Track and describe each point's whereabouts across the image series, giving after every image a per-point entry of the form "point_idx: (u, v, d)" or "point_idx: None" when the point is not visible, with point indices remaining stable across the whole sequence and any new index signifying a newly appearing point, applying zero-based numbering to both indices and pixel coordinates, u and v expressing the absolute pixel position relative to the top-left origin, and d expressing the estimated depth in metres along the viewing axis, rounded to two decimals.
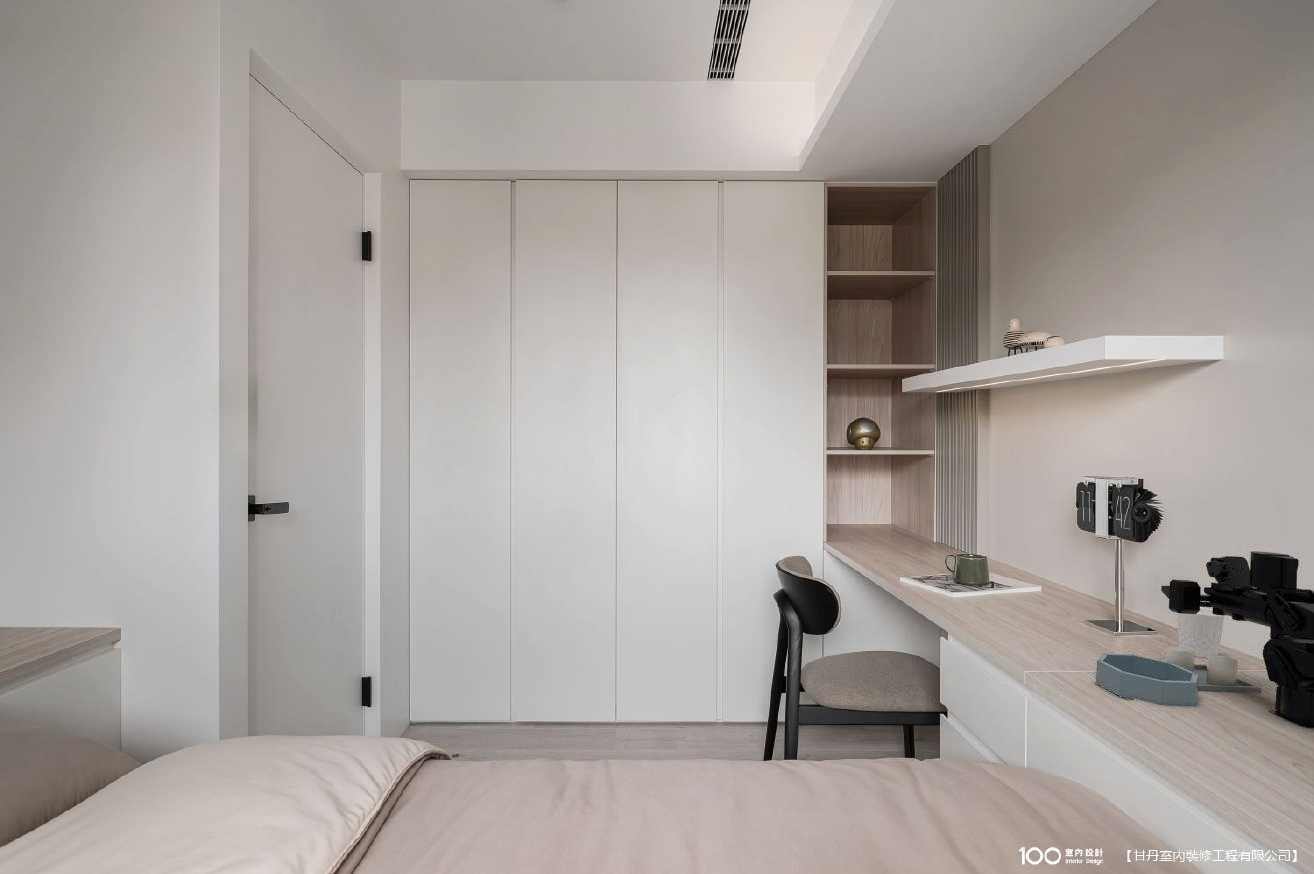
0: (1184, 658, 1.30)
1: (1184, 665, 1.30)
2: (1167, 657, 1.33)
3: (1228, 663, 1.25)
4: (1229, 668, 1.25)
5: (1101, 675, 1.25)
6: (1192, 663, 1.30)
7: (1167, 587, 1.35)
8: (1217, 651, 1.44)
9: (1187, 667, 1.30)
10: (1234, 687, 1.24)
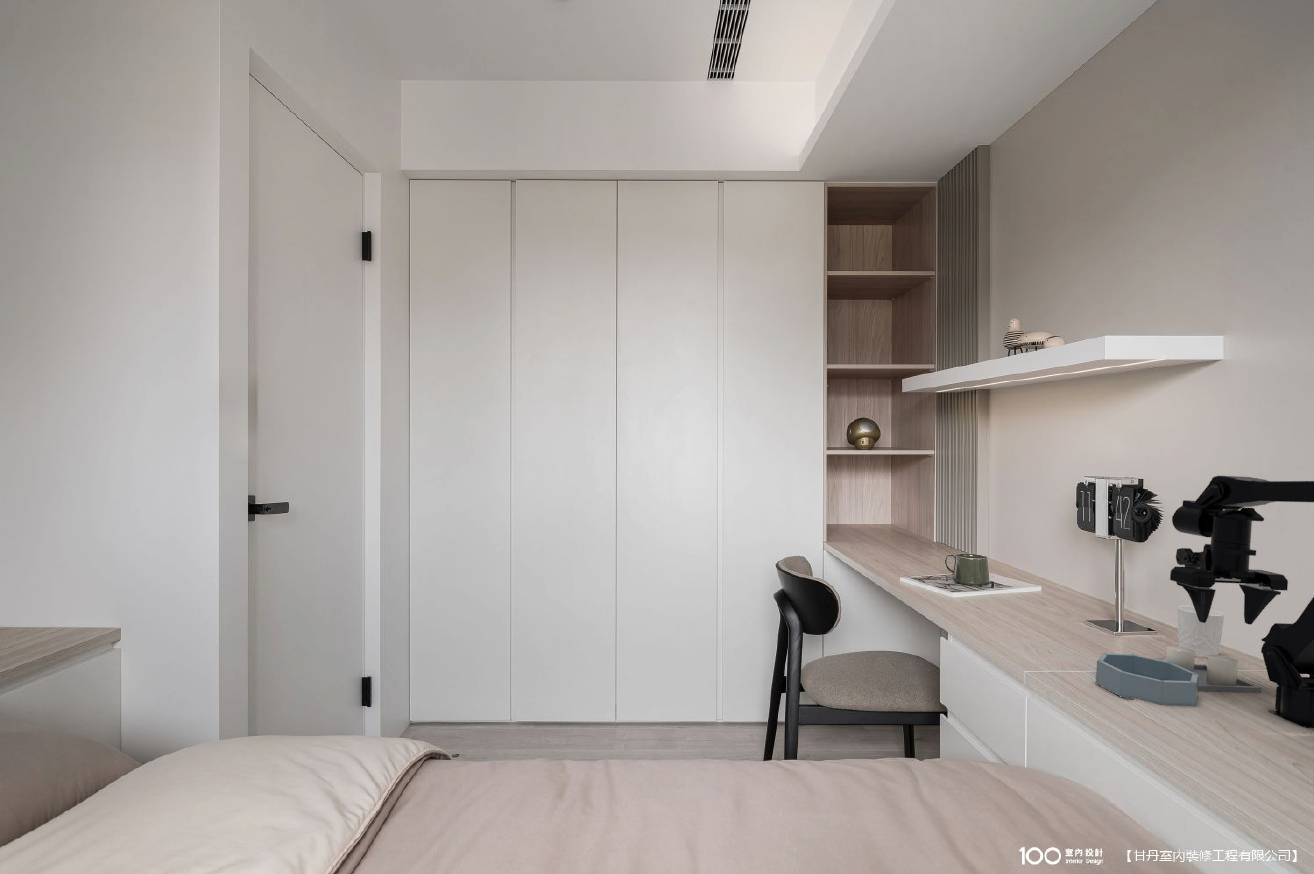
0: (1184, 658, 1.30)
1: (1184, 665, 1.30)
2: (1167, 657, 1.33)
3: (1228, 663, 1.25)
4: (1229, 668, 1.25)
5: (1101, 675, 1.25)
6: (1192, 663, 1.30)
7: (1195, 608, 1.28)
8: (1217, 651, 1.44)
9: (1187, 667, 1.30)
10: (1234, 687, 1.24)
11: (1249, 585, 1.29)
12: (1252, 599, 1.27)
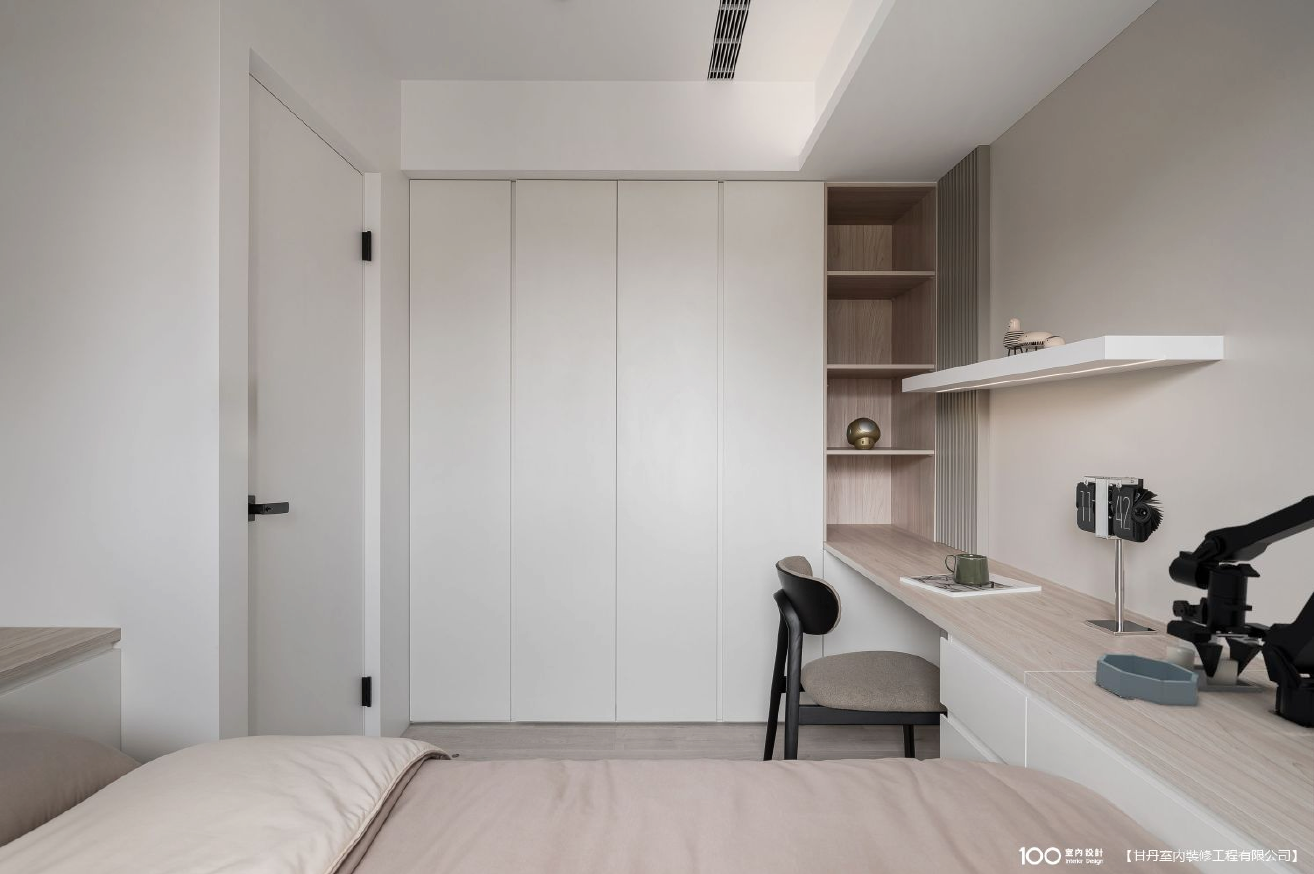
0: (1184, 658, 1.30)
1: (1184, 665, 1.30)
2: (1167, 657, 1.33)
3: (1228, 663, 1.25)
4: (1229, 668, 1.25)
5: (1101, 675, 1.25)
6: (1192, 663, 1.30)
7: (1203, 662, 1.28)
8: None
9: (1187, 667, 1.30)
10: (1234, 687, 1.24)
11: (1234, 638, 1.29)
12: (1237, 653, 1.27)
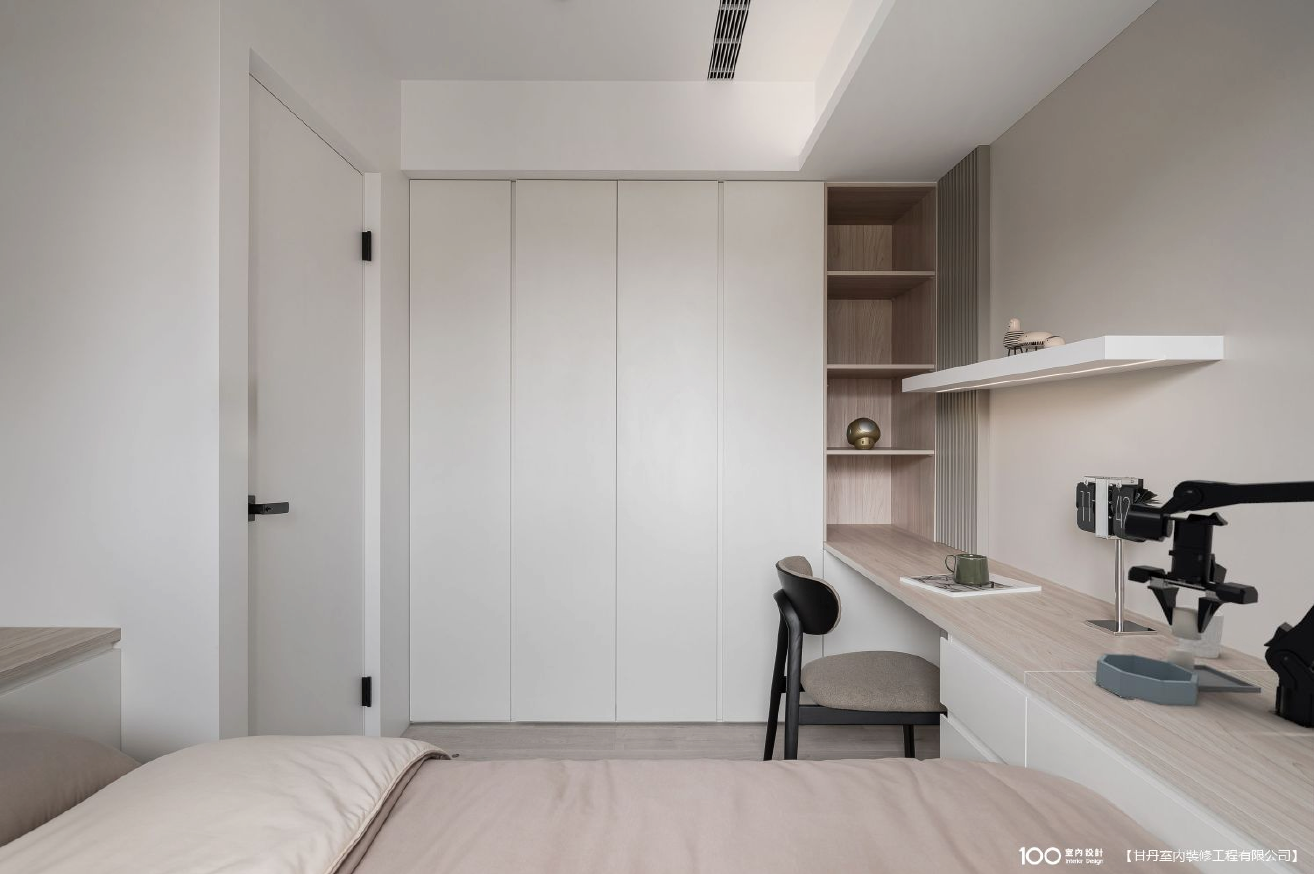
0: (1184, 658, 1.30)
1: (1184, 665, 1.30)
2: (1167, 657, 1.33)
3: (1177, 611, 1.25)
4: (1177, 616, 1.25)
5: (1101, 675, 1.25)
6: (1192, 663, 1.30)
7: None
8: (1217, 651, 1.44)
9: (1187, 667, 1.30)
10: (1234, 687, 1.24)
11: None
12: None
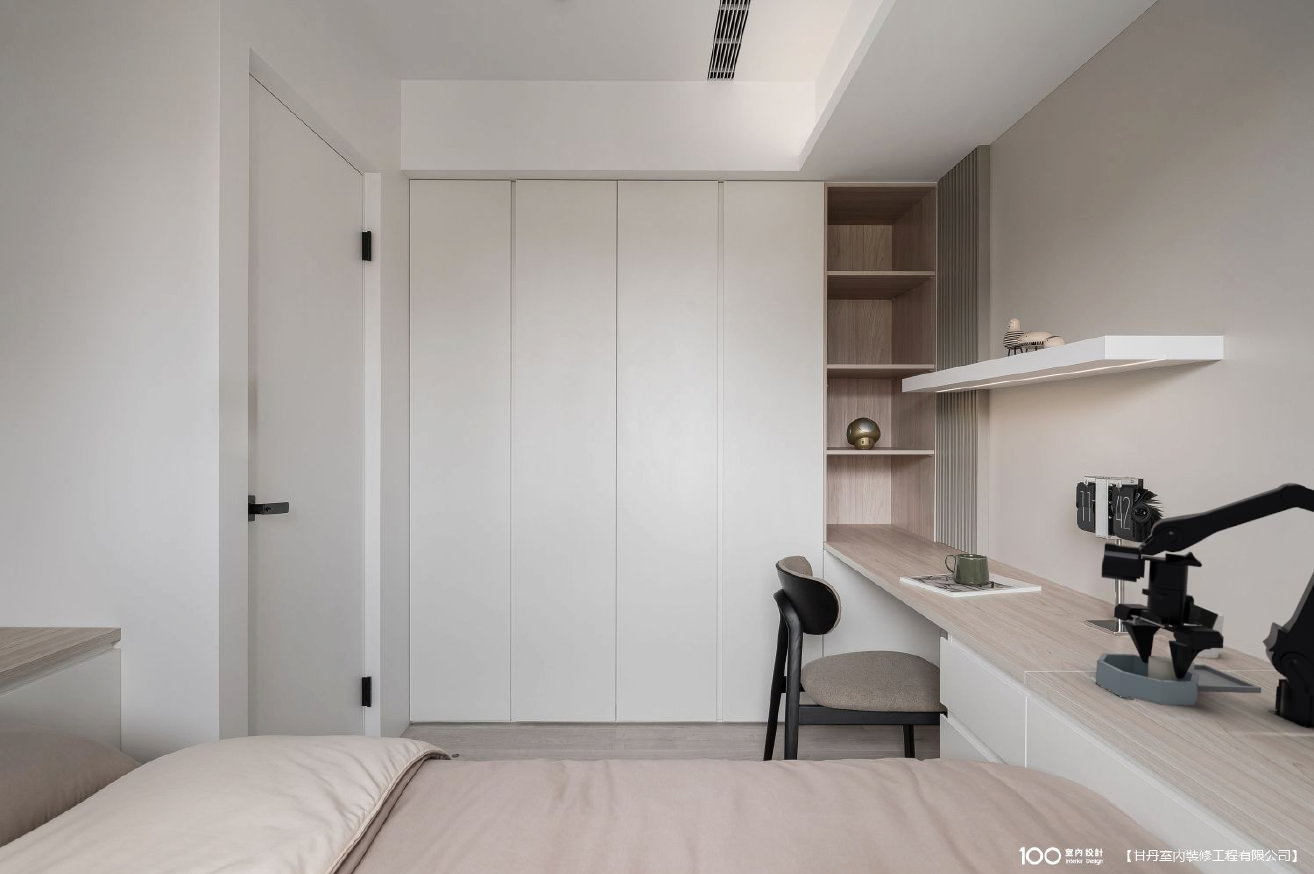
0: None
1: None
2: (1167, 657, 1.33)
3: (1149, 659, 1.24)
4: (1149, 664, 1.24)
5: (1101, 675, 1.25)
6: (1192, 663, 1.30)
7: None
8: (1217, 651, 1.44)
9: None
10: (1234, 687, 1.24)
11: None
12: None
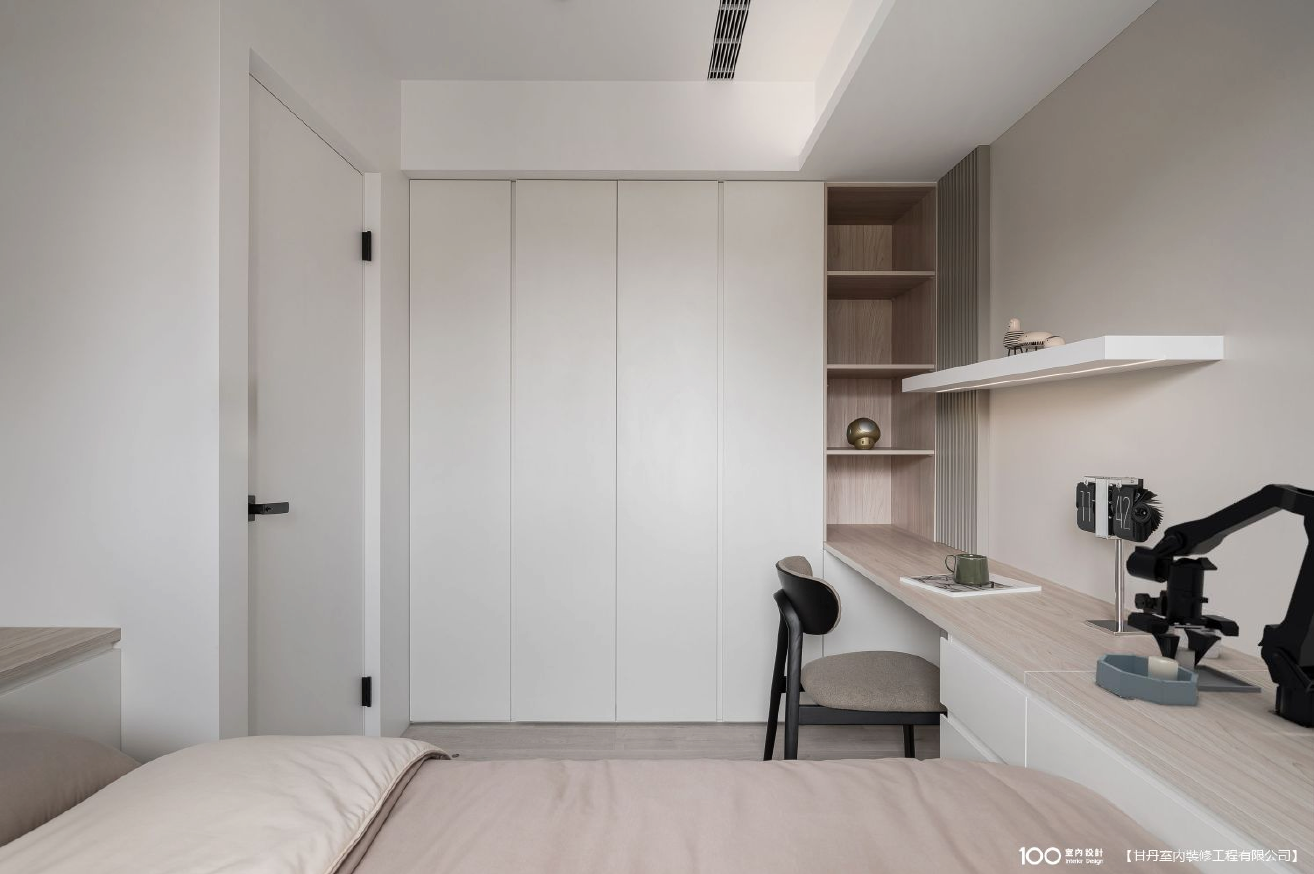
0: (1184, 658, 1.30)
1: (1183, 665, 1.30)
2: None
3: (1149, 659, 1.24)
4: (1149, 664, 1.24)
5: (1101, 675, 1.25)
6: (1192, 663, 1.30)
7: (1162, 653, 1.33)
8: (1217, 651, 1.44)
9: (1187, 667, 1.30)
10: (1234, 687, 1.24)
11: (1192, 630, 1.34)
12: (1195, 644, 1.32)
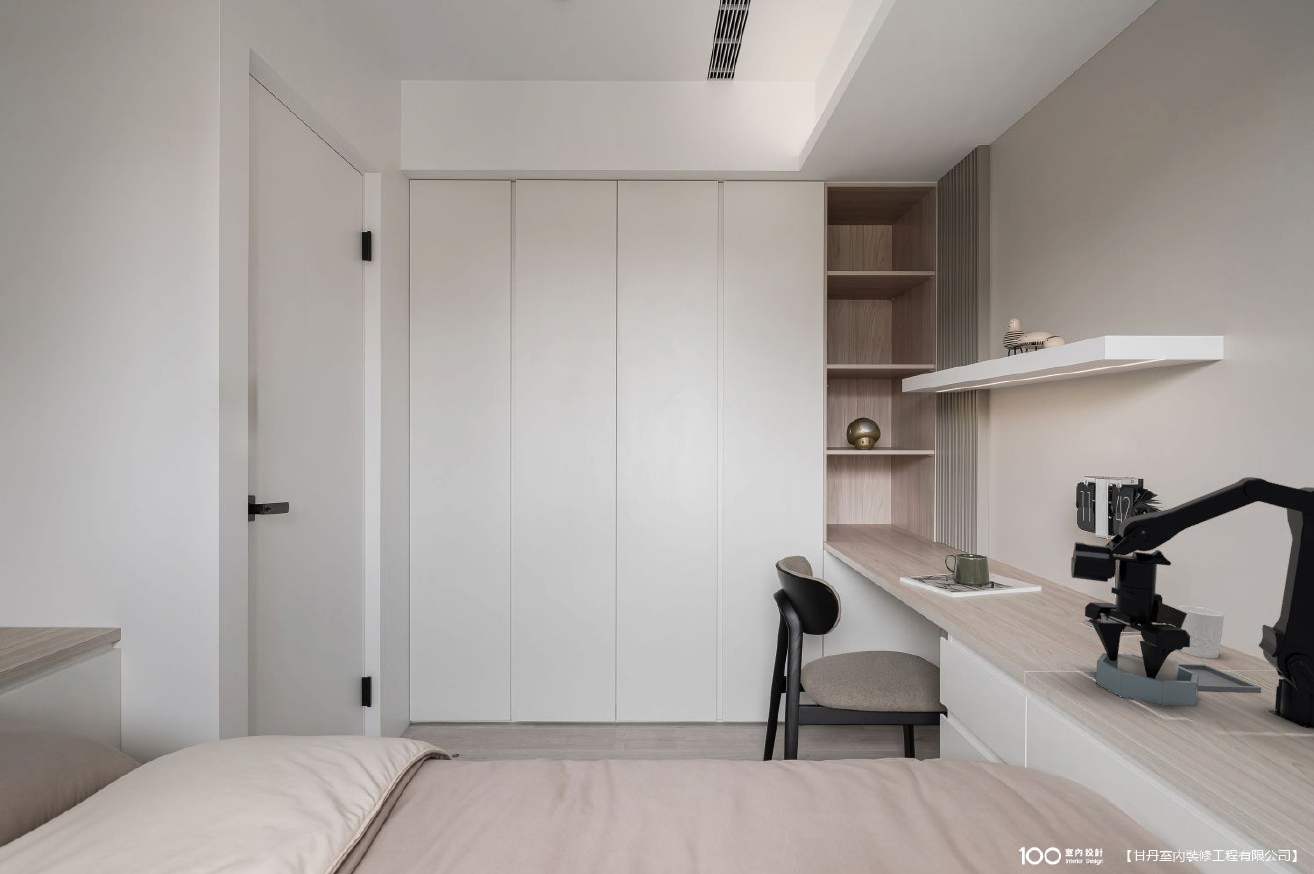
0: (1118, 662, 1.24)
1: None
2: None
3: None
4: None
5: (1101, 675, 1.25)
6: None
7: None
8: (1217, 651, 1.44)
9: None
10: (1234, 687, 1.24)
11: None
12: None
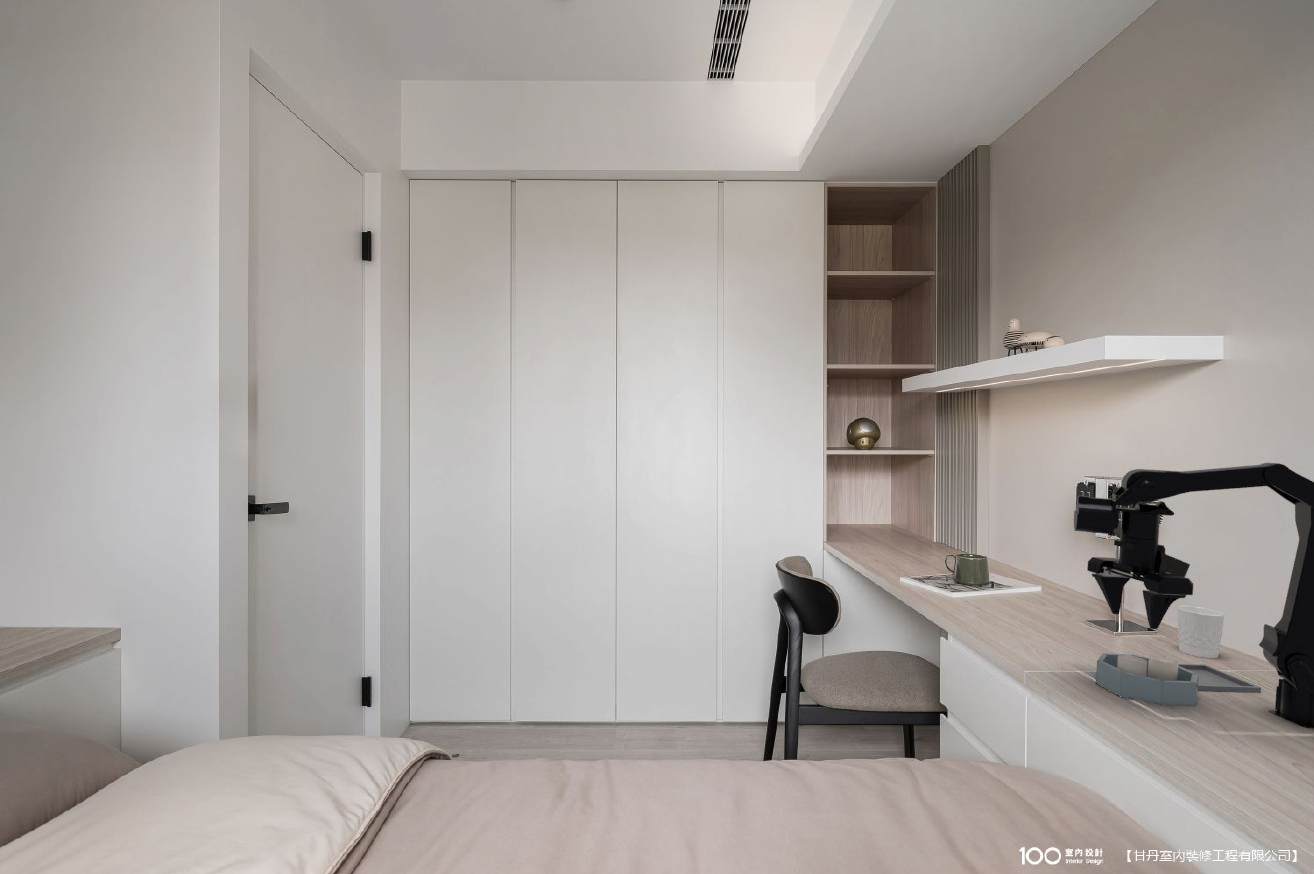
0: None
1: None
2: None
3: (1149, 659, 1.24)
4: (1149, 664, 1.24)
5: (1101, 675, 1.25)
6: None
7: None
8: (1217, 651, 1.44)
9: None
10: (1234, 687, 1.24)
11: None
12: None
